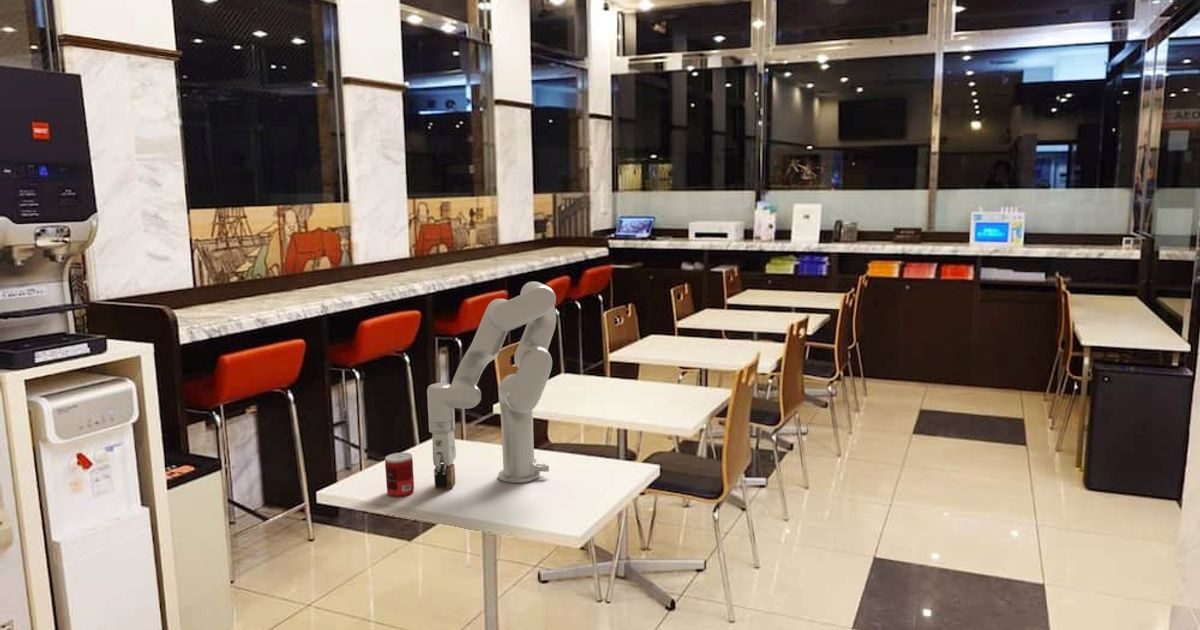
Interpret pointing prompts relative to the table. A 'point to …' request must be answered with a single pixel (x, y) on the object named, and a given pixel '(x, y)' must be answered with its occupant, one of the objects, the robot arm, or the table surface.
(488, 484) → the table surface
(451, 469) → the walnut block
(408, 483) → the canned food
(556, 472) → the table surface
